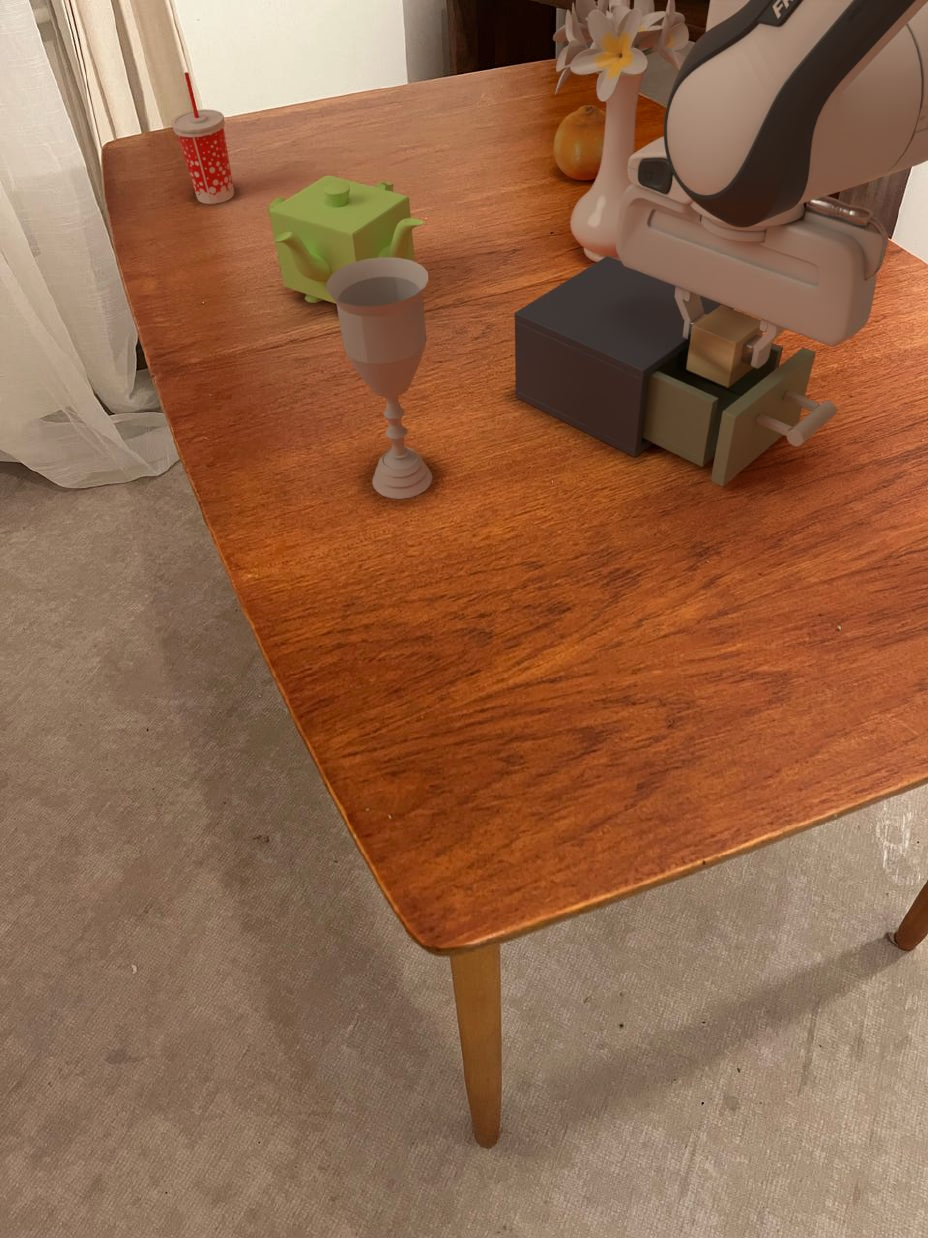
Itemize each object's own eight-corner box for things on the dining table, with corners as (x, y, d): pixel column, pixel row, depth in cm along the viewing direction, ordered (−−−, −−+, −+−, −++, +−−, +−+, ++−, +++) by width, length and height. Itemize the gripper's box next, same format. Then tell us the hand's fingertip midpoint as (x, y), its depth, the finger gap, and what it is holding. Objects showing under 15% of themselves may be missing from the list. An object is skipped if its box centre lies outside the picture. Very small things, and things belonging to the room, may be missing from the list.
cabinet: (720, 391, 89) (735, 304, 82) (635, 458, 83) (643, 370, 77) (601, 339, 95) (607, 255, 89) (515, 397, 90) (514, 312, 83)
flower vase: (642, 205, 114) (663, -48, 96) (690, 283, 102) (725, 10, 83) (532, 218, 113) (532, -35, 95) (567, 298, 101) (575, 26, 82)
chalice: (367, 513, 80) (335, 314, 66) (352, 463, 84) (318, 267, 71) (454, 494, 81) (439, 294, 68) (434, 446, 85) (416, 249, 72)
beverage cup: (245, 184, 123) (219, 62, 113) (233, 206, 119) (204, 82, 109) (199, 184, 124) (168, 63, 113) (184, 206, 120) (151, 83, 109)
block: (756, 365, 79) (765, 321, 76) (728, 388, 77) (736, 343, 74) (714, 348, 81) (721, 304, 78) (685, 369, 79) (692, 325, 76)
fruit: (587, 178, 114) (607, 103, 111) (533, 167, 118) (550, 95, 116) (622, 192, 120) (642, 122, 118) (569, 182, 125) (587, 113, 122)
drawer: (843, 441, 82) (864, 370, 77) (768, 510, 76) (785, 439, 71) (678, 368, 90) (687, 300, 85) (600, 426, 85) (604, 357, 80)
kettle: (432, 317, 100) (422, 209, 91) (293, 340, 98) (271, 233, 90) (405, 248, 110) (394, 145, 101) (279, 269, 108) (258, 166, 100)
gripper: (918, 199, 64) (865, 380, 74) (661, 124, 74) (645, 292, 84) (869, 235, 61) (821, 419, 71) (609, 152, 71) (599, 323, 81)
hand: (724, 350), depth 78 cm, fingers closed on block, 4 cm apart
